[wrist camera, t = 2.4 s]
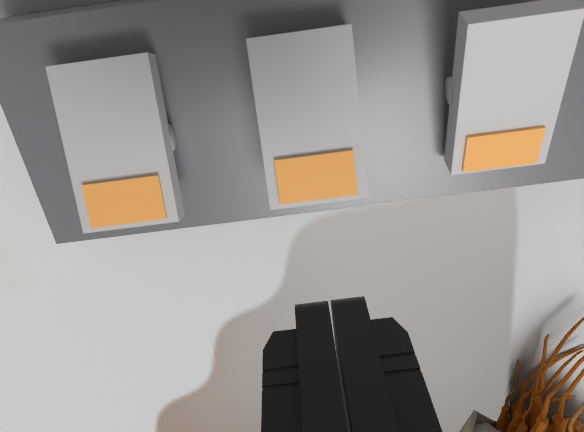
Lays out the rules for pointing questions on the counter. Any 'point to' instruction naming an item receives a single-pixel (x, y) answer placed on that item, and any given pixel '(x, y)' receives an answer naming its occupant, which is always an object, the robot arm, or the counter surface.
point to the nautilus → (536, 401)
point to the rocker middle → (309, 116)
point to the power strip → (241, 104)
